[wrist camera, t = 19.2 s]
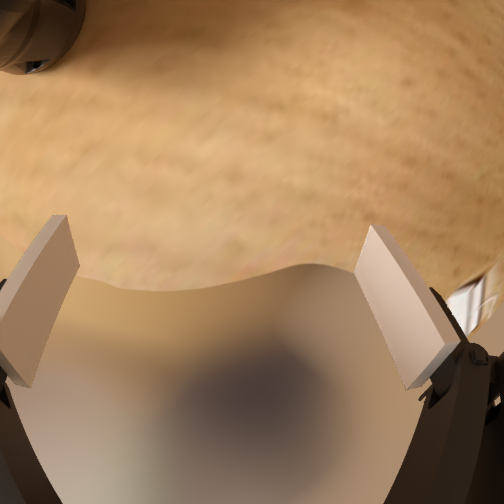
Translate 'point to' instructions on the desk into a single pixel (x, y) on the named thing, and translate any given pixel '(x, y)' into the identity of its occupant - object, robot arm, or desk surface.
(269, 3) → the desk surface
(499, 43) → the desk surface
